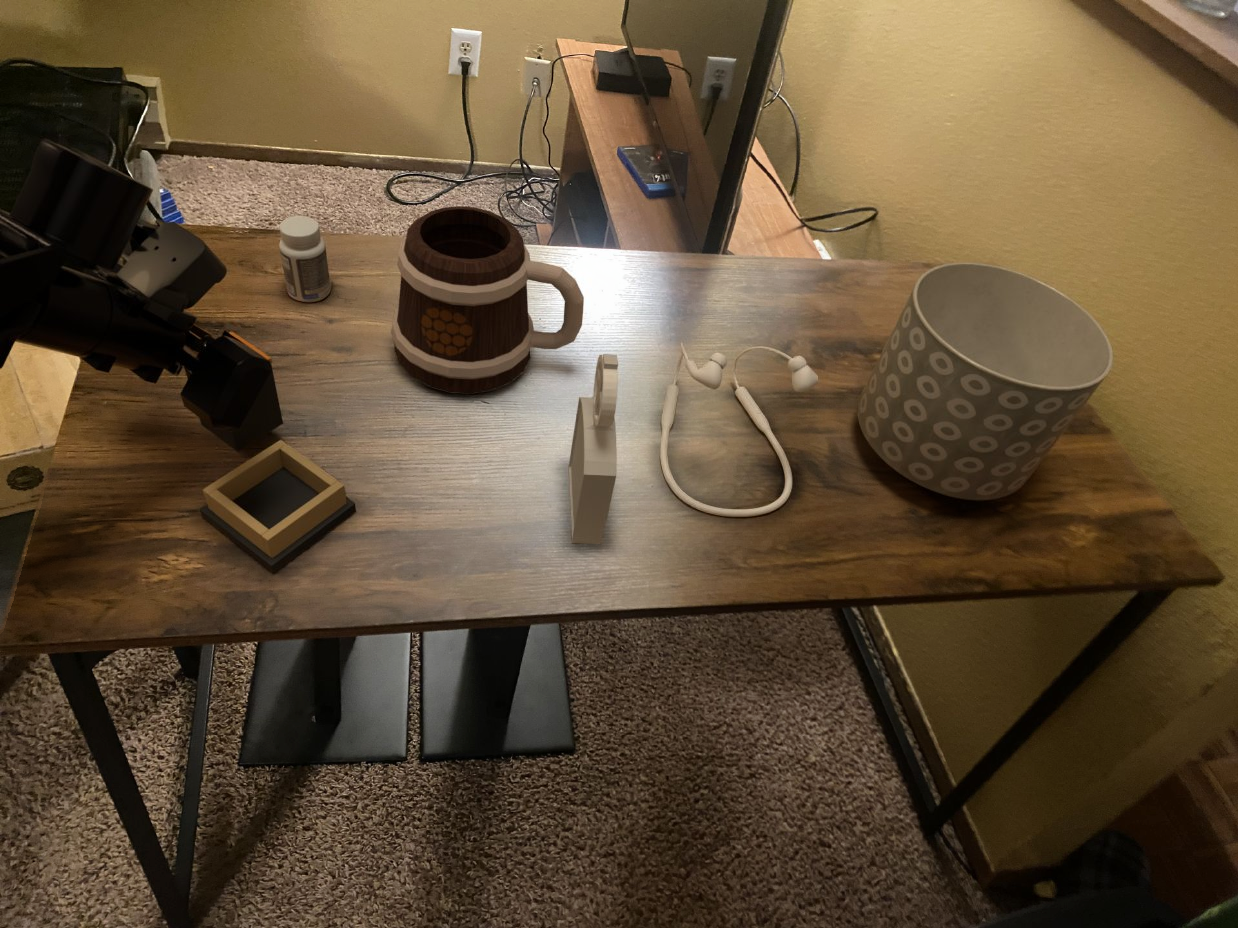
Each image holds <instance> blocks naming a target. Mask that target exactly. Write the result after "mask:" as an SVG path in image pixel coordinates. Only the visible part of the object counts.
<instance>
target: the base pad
mask: <svg viewBox="0 0 1238 928" xmlns="http://www.w3.org/2000/svg"><path fill="white" fill-rule="evenodd" d="M202 492H203V495H204V498H205V501H206V504H205V505H203V506H202V507H200V508H199V512H200V515H201V517H202V519H204V520H205V521H206V522H207V523H209V524H210V525H211V526H213V527H214V528H215V529H216V530H218V532H220V533H221V534H222V535H223V536H225V537H226V538H227V539H229V540H230V541H231V542H233V543H234V544H235V545H236V546H237V547H238V548H240V549H241V550H243V552H245V553H246V554H248V555H249V556H250V557H251V558H253V559H254V560H255V561H256V562H258V563H259V564H260V565H261V566H263V567H264V569H267V570H268V571H269V572H271V573H272V574H273V575H275V574H276V573H277V572H279V571H280V570H281V569H283V568H284V567H285V566H287V565H288V564H290V563H291V562H292V561H293V560H295V559H296V558H297V557H298V556H300V555H301V554H302V553H303V552H305V551H306V550H308V549H309V548H310V547H312V546H313V545H314V544H316V543H317V542H318V541H320V540H321V539H322V538H324V537H325V536H327V535H328V534H329V533H330V532H331V531H333V530H335V528H337V527H338V526H339V525H341V524H342V523H343V522H345V521H346V520H347V519H349V518H350V517H351V516H353V515H354V514H355V513H357V506H356V503H355V502H354V501H353V500H352V499H350V498H348V497H347V496H346V489H345V484H343V483H342V482H340V481H339V480H338V479H336V478H335V477H334V476H332V475H331V474H330V473H328V472H327V471H325V470H324V469H323V468H321V467H320V466H318V465H317V464H316V463H314V462H313V461H311V460H310V459H309V458H308V457H306V456H304V455H303V454H301V453H300V452H299V451H297V450H296V449H295V448H294V447H292V446H290V445H289V444H288V443H286V442H285V441H284V440H282V439H280V440H278V441H276V442H274V443H273V444H272V445H270V446H269V447H267V448H265V449H264V450H262V451H261V452H259V453H257V454H255V456H253V457H251V458H250V459H248V460H246V461H244V462H243V463H242V464H240V465H239V466H237V467H236V468H234V469H232V470H231V471H230V472H227V473H226V474H225V475H223V476H222V477H220V478H219V479H217V480H215V481H213V482H212V483H210V484H209V485H208V486H206V487H204V488H203V489H202Z"/></svg>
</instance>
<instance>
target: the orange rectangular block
mask: <svg viewBox="0 0 1238 928" xmlns="http://www.w3.org/2000/svg"><path fill="white" fill-rule="evenodd" d="M229 333H230V334H231V335H233V336H234V337H236V338H237V339H239V340H240V341H241V342H243V343H244V344H245V345H247V346H249V347H250V348H252V349H253V350H254V351H256V352H257V353H259V354H260V355H262V356H263V357H265V358H266V359H268V360H269V361H270V364H271V373H270V375H269V376H268V378H267V380H266V382H265V384H264V386H263V387H262V389H261V391H260V393H259V395H258V396H257V398H256V400H255V402H254V404H253V405H252V407H251V409H250V411H249V413H248V415H247V416H246V418H245V420H244V422H243V424H242V425H241V427H240V429H237V430H234V431H228V430H222V429H217V428H213V427H211V426H210V425H209V424H207V423H206V422H205V421H203V420H202V419H201V418H199V417H198V418H199V422H200V424H201V426H202V427H203V428H205V429H206V430H208V431H209V432H210V433H211V434H213V435H215V436H216V437H217V438H218V439H220V440H221V441H222V442H224V443H225V444H227V446H229V447H231V448H232V449H233V450H234V451H236V452H240V451H242V450H243V449H245V448H246V447H249V445H251V444H253V443H254V442H256V441H257V440H259V439H261V438H262V437H264V436H266V435H267V434H269V433H271V432H272V431H273V430H275V429H277V428H279V427H280V426H282V425H283V424H284V420H283V416H282V411H281V405H280V401H279V395H278V391H277V390H278V389H277V385H276V380H275V375H274V371H273V366H272V364H273V360H272V357H271V356H269V355H268V354H266V353H264V352H263V351H261V350H260V349H258V348H257V347H255V346H254V345H252V344H251V343H249V342H248V341H247V340H245V339H244V338H242V337H241V336H239V335H238V334H236V332H234V331H230V332H229ZM196 353H197V354H198V353H199V352H196ZM183 369H184V372H185V375H186V378H187V380H188V379H189V377H190V375H191V372H190V371H189V370H188V369H187V368H185V367H184V366H183Z"/></svg>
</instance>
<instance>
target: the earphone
mask: <svg viewBox="0 0 1238 928" xmlns="http://www.w3.org/2000/svg"><path fill="white" fill-rule="evenodd" d="M679 345H680V346H679V347H680V354H679V359H678V363H677V365H676V370H675V374H674V378H673V381H672V383H671V384H669V385H667V387H666V392H665V395H664V396H665V397H664V402H663V409H662V414H661V418H660V423H661V429H662V430H661V439H660V448H659V456H660V464H661V470H662V473H663V475H664V478H665V481H666V483H667V485H668V486H669V488H670V489H671V491H672V492H673V493H674V494H675V495H676V496H677V497H678V498H679V499H680V500H681V501H682V502H684V503H685V504H687V505H689V506H690V507H692V508H694V509H696V510H699V511H701V512H703V513H707V514H711V515H715V516H722V517H732V518H741V517H743V518H744V517H756V516H761V515H765V514H769V513H772V512H773V511H775V510H777V509H779V508H781V507H782V506H783V505H784V504H785V503H786V502H787V500H788V499H789V497H790V495H791V494H792V489H793V474H792V469H791V465H790V462H789V459H788V458H787V455H786V453H785V451H784V449H783V447H782V446H781V444H780V442H779V441H778V439H777V438H776V436H775V434H774V433H773V431H772V430H771V426H770V423H769V420H768V419H767V417H766V416H765V415H764V413H763V412H762V410H761V409H760V407H759V406H758V404H757V403H756V401H755V400H754V398H753V396H752V395H751V394H750V392H749V390H748V389H747V388H746V387H745V386H740V385H739V382H738V379H737V375H736V365H737V363H738V360H739V359H740V358H741V357H742V356H743V355H744V354H746V353H749V352H750V351H754V350H765V351H769V352H771V353H775V354H778V355H780V356H781V357H783V358H785V359H786V360H788V362H787V367H788V370H789V371H790V372H791V385H792V388H793V389H794V391H795V392H798V393H803V392H806V391H809V390H811V389H812V388H813V387H815V386H816V385H817V384H818V382H819V377H818V374H817V373H816V372H815V371H814V370H812V368H811V366H809V365H808V364H807V360H806V358H804V356H801V355H796V356H794V357H791V356H790V355H788V354H786V353H784V352H783V351H781V350H778V349H775V348H773V347H770V346H769V347H768V346H761V345H760V346H759V345H758V346H757V345H756V346H751V347H748V348H745V349H744V350H742V351H741V352H740V353H738V355H736V357H735V358H734V360H733V363H732V377H733V382H734V385H735V387H736V389H735V391H734V394H735V396H736V398H737V399H738V400H739V402H740V404H741V405H742V406H743V408H744V409H745V411H746V413H747V414H748V415H749V417H750V418H751V420H752V422H753V423H754V424H755V426H756V427H757V429H759V430H760V431H761V432H762V433H763V434H765V436H766V438H767V439H768V441H769V443H770V445H771V446H772V448H773V449H774V451H775V452H776V454H777V456H778V458H779V461H780V463H781V466H782V469H783V473H784V474H783V475H784V487H783V491H782V493H781V495H780V496H779V497H778V498H777V499H776V500H774V501H773V502H771V503H769V504H766V505H764V506H760V507H755V508H739V509H737V508H724V507H717V506H712V505H708V504H706V503H703V502H701V501H698V500H696V499H695V498H693V497H691V496H690V495H688V494H687V493H686V492H684V490H682V489H681V487H680V486H679V484H678V483H677V482H676V480H675V478H674V476H673V474H672V472H671V468H670V465H669V464H670V463H669V459H668V445H669V438H670V430H671V428H672V426H673V424H674V420H675V414H676V407H677V402H678V398H679V397H678V396H679V389H680V388H679V386H678V385H676V383H677V380H678V376H679V373H680V370H681V369H680V368H681V364H682V361H683V357H684V359H685V361H686V362H685V368H686V370H687V371H688V373H689V375H690V377H691V378H692V379H693V380H695V381H696V382H698V383H700V384H701V385H703V386H705V387H707V388H708V389H710V390H717V389H719V388H720V386H721V384H722V381H723V380H722V379H723V370H724V369H725V368H726V366H727V364H728V358H727V357H726V355H724V353H722V352H718V351H717V352H714V353H713V354H712V355H710V357H709V359H708V360H709V361H706V363H705V364H704V365H703V366H702V367H700V368H699V367H698V366H697V364H696V362H695V361H694V360H692V359H690V358H689V356H688V354H687V352H686V349H685V345H684V343H683V342H680V344H679Z"/></svg>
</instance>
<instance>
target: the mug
mask: <svg viewBox="0 0 1238 928" xmlns="http://www.w3.org/2000/svg"><path fill="white" fill-rule="evenodd" d="M411 223H412V224H411V225H410V226H409V227H408V228H407V231H406V236H405V237H404V238H403V239H402V240H401V242H400V244H399V251H398V255H397V256H398V257H397V263H396V265H397V268H398V270H399V273H400V285H399V297H398V306H397V307H396V309H395V310H394V314H393V317H392V318H393V319H392V324H391V331H390V334H391V336H392V339H393V342H394V346H393V351H394V354H395V357H396V360H397V362H398V364H399V366H401V368H402V369H403V370H404V371H405V372H406V373H407V374H408V375H409V376H410V377H411V378H413V379H415V380H417V381H418V382H420V383H421V384H423V385H425V386H427V387H429V388H432V389H435V390H438V391H441V392H447V393H450V394H466V395H473V394H479V393H486V392H491V391H493V390H496V389H499V388H501V387H504V386H506V385H508V384H511V383H513V382H514V380H516V379H517V378H518V377H519V376H520V375H521V374H523V373H524V372H525V370H526V368H527V367H528V365H529V363H530V361H531V350H532V348H533V349H539V350H540V349H541V350H558V349H560V348H562V347H564V346H567V345H569V344H572V343H574V342H575V341H576V339H577V336H578V334H579V333H580V331H581V328H582V326H583V320H584V319H583V318H584V304H585V303H584V302H585V296H584V295H583V293H582V290H581V288H580V287H579V284H578V281H577V280H576V278H574V277H573V276H572V274H570V273H569V272H568V271H566V269H564V268H563V267H562V266H559V265H558V266H557V265H554V264H551V263H545V262H542V261H535V260H531V257H530V256H531V255H530V252H529V250H528V249H527V247H526V244H525V243H524V238H523V236H522V234H521V233H520V231H519V229H518V228H517V227H515V226H514V224H512V223H510V222H509V221H508V220H507V219H506V218H504V217H503V216H500V215H499V214H496V213H494V212H492V211H490V210H486V209H483V208H479V207H473V206H464V205H463V206H462V205H459V206H458V205H457V206H444V207H441V208H438V209H434V210H430V211H429V212H427V213H426V214H424V215H422V216H420V217H419V218H417V219H415V220H414V221H413V222H411ZM528 281H532V282H537V283H541V284H547V285H548V284H549V285H551V286H553V288H555V289H556V290H557V291H559V293H560V295H561V297H562V298H563V301H564V304H563V305H564V308H563V322H562V325H561V328H560V329H558V330H557V331H555V332H551V331H550V332H549V331H548V332H546V331H538V330H535V328H534V322H533V319H532V317H531V315H530V313H529V302H528V300H529V299H528Z"/></svg>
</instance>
